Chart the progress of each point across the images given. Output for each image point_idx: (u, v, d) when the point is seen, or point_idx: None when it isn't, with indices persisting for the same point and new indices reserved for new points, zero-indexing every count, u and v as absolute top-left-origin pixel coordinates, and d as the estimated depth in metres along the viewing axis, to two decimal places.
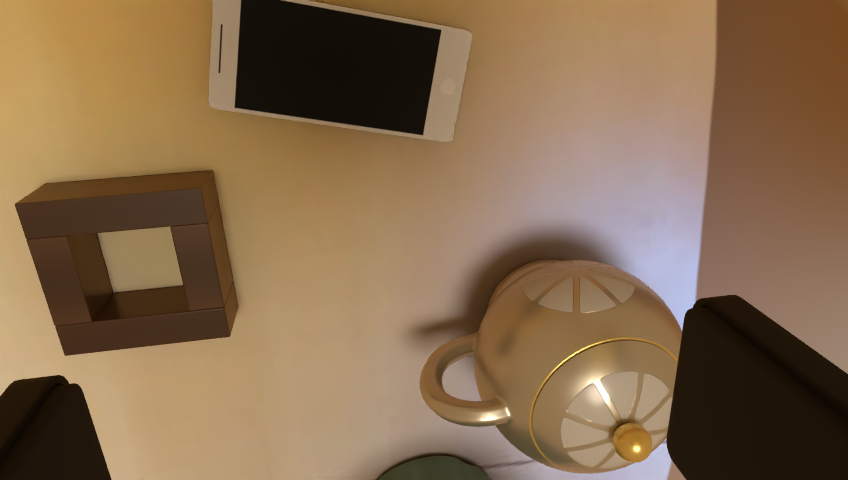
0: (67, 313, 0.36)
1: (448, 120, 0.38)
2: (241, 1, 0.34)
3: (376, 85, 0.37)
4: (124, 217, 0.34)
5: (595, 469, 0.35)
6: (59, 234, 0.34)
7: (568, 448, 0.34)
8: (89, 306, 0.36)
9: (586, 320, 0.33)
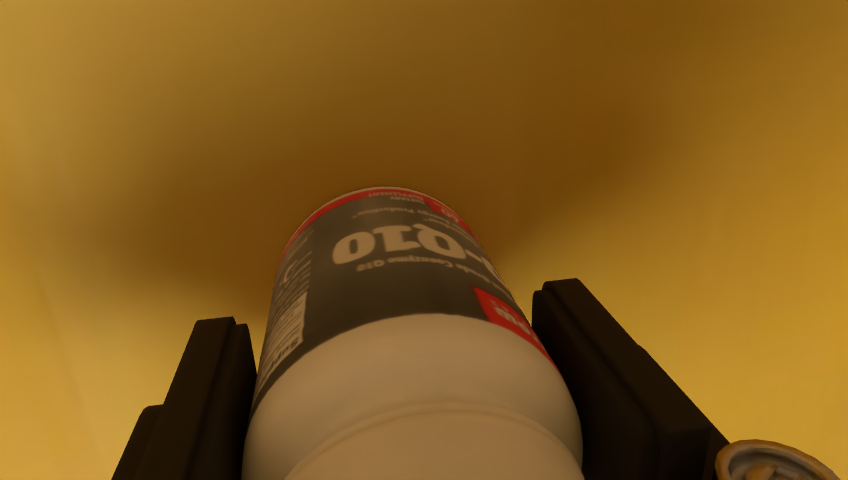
0: None
1: None
2: None
3: None
4: None
5: None
6: None
7: None
8: None
9: None
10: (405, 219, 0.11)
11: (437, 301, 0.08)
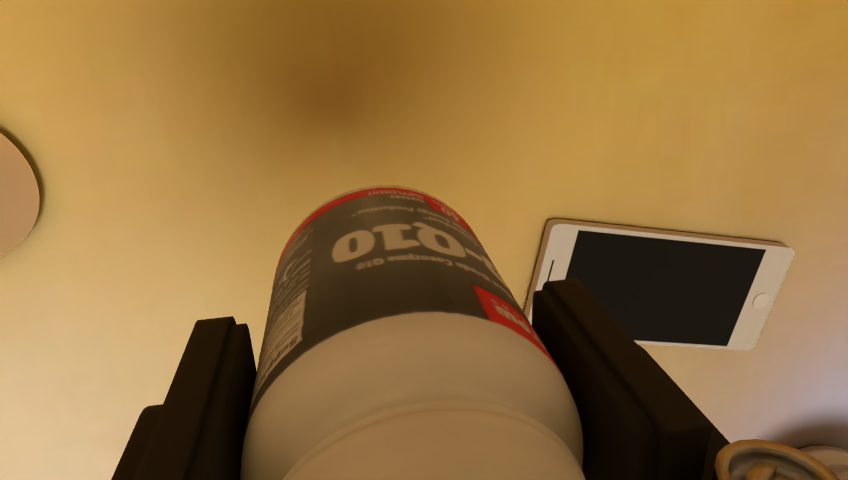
0: None
1: (754, 331, 0.36)
2: (576, 237, 0.32)
3: (692, 304, 0.35)
4: None
5: None
6: None
7: None
8: None
9: None
10: (405, 217, 0.11)
11: (437, 299, 0.08)
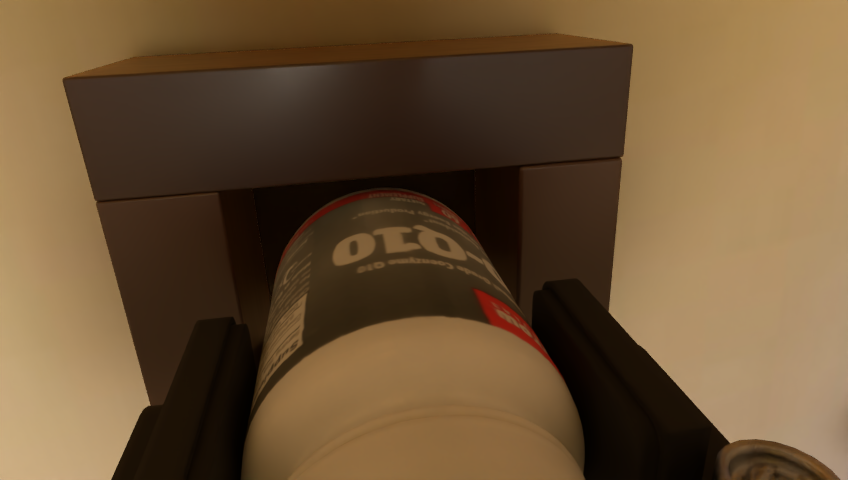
0: None
1: None
2: None
3: None
4: (399, 134, 0.11)
5: None
6: (199, 186, 0.11)
7: None
8: None
9: None
10: (405, 220, 0.10)
11: (438, 303, 0.08)
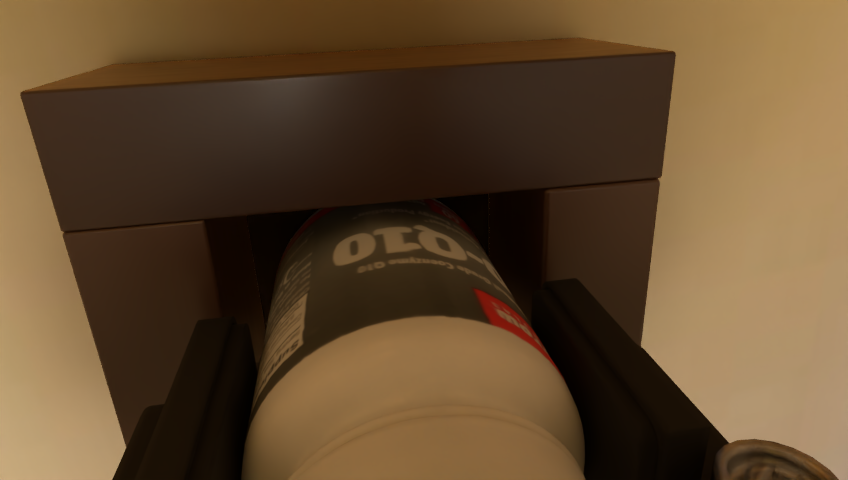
0: None
1: None
2: None
3: None
4: (409, 154, 0.10)
5: None
6: (180, 214, 0.09)
7: None
8: None
9: None
10: (406, 220, 0.10)
11: (438, 302, 0.08)
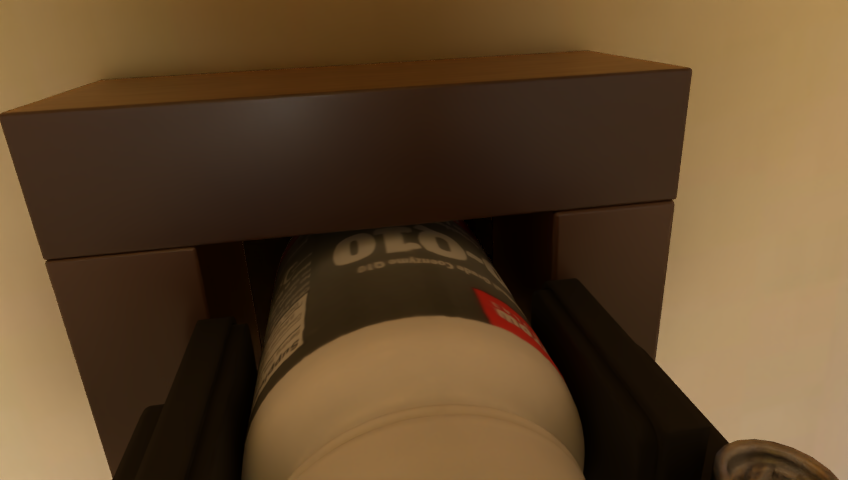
0: None
1: None
2: None
3: None
4: (411, 176, 0.09)
5: None
6: (170, 241, 0.09)
7: None
8: None
9: None
10: None
11: (438, 303, 0.08)
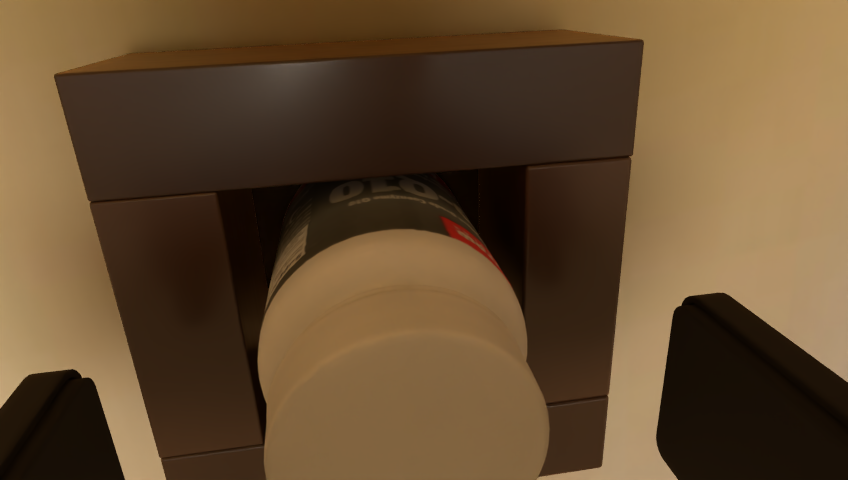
0: (198, 424, 0.12)
1: None
2: None
3: None
4: (402, 132, 0.11)
5: None
6: (195, 186, 0.10)
7: None
8: (258, 401, 0.13)
9: None
10: None
11: (410, 222, 0.10)
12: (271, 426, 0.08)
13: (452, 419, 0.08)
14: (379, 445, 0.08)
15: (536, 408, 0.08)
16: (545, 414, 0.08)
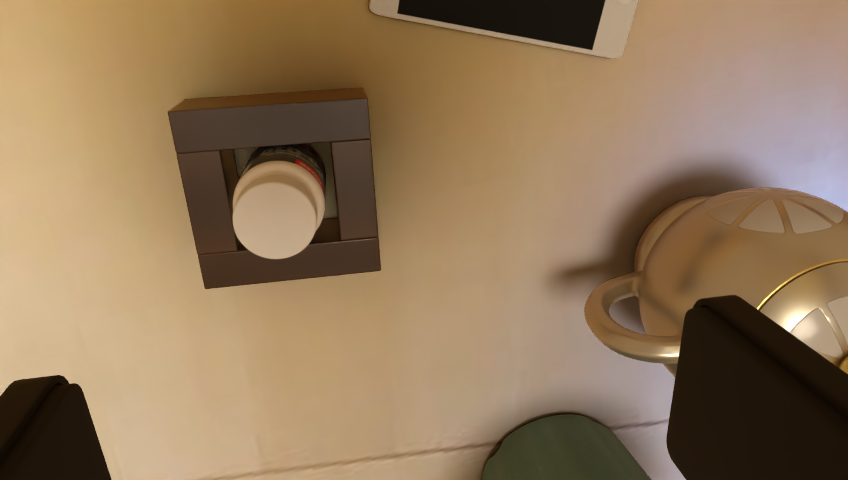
0: (212, 240, 0.33)
1: (620, 34, 0.35)
2: None
3: None
4: (283, 130, 0.31)
5: None
6: (212, 148, 0.31)
7: None
8: (235, 233, 0.33)
9: (803, 240, 0.30)
10: (285, 145, 0.33)
11: (282, 159, 0.30)
12: (234, 209, 0.28)
13: (285, 209, 0.28)
14: (264, 216, 0.28)
15: (310, 208, 0.28)
16: (313, 210, 0.28)
